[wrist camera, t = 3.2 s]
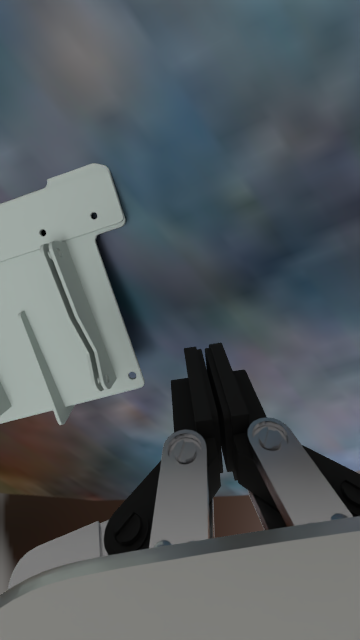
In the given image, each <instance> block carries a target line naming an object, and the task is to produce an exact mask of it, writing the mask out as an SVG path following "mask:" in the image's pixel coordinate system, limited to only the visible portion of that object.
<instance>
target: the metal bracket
mask: <svg viewBox="0 0 360 640" xmlns="http://www.w3.org/2000/svg"><path fill="white" fill-rule="evenodd" d="M92 213H96V214H97V218H96V219H92V216H91V215H92ZM124 224H125V216H124V213H123V210H122V207H121V204H120V201H119V198H118V194H117V191H116V188H115V185H114V182H113V179H112V176H111V173H110V170H109V169H108V168H107V167H106V166H104V165H100V164H94V163H93V164H90V165H87V166H84V167H81V168H79V169H76V170H73V171H70V172H67V173H64V174H62V175H59V176H56V177H53V178H50V179H47V186H46V187H45V188H44V189H41V190H38V191H35V192H33V193H30V194H27V195H24V196H21V197H19V198H16V199H13V200H10V201H7V202H4V203H2V204H0V424H1V423H5V422H9V421H13V420H17V419H20V418H24V417H28V416H32V415H36V414H40V413H44V412H48V411H52V410H53V411H54V414H55V416H56V419H57V421H58V423H59V425H62V424H65V422H66V420H67V419H68V417H69V415H70V413H71V411H72V410H73V408H74V406H75V404H79V403H83V402H87V401H91V400H95V399H99V398H102V397H106V396H110V395H114V394H118V393H122V392H126V391H130V390H134V389H138V388H141V387H143V385H144V378H143V375H142V372H141V369H140V366H139V363H138V361H137V358H136V355H135V352H134V349H133V346H132V343H131V341H130V338H129V335H128V332H127V329H126V326H125V324H124V321H123V318H122V315H121V312H120V309H119V306H118V304H117V301H116V298H115V295H114V292H113V289H112V286H111V284H110V281H109V278H108V275H107V272H106V269H105V266H104V264H103V261H102V258H101V255H100V252H99V249H98V246H97V244H96V237H97V236H98V235H99V234H101V233H104V232H107V231H111V230H114V229H117V228H120V227H122V226H124ZM42 230H45V231H46V236H42V234H41V231H42ZM130 372H135V373H136V376H137V377H136V378H130V377H129V373H130Z"/></svg>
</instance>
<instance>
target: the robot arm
mask: <svg viewBox="0 0 360 640" xmlns="http://www.w3.org/2000/svg"><path fill="white" fill-rule="evenodd" d="M184 353H185V359H186V366H187V373H188V378H184V379H178V380H171V391H172V405H173V420H174V433H173V434H172V435H171V436H169V437H168V439H167V440H166V441H165V443H164V447H163V451H162V459H161V461H160V462H159V463H158V465H157V466H156V467H155V468H154V469H153V470H152V471H151V472H150V473H149V475H148V476H147V477H146V478H145V479H144V480H143V481H142V482H141V484H140V485H139V486H138V487H137V488H136V489H135V490H134V491H133V492H132V494H131V495H130V496H129V497H128V498H127V499H126V500H125V501H124V502H123V504H122V505H121V506H120V507H119V508H118V509H117V510H116V511H115V512H114V514H113V515H112V517H111V518H110V519H109V520H108V521H105V522H103V523H101V524H99V522H98V521H97V522H95V523H92V524H90V525H88V526H86V527H83V528H81V529H79V530H76V531H73V532H71V533H68V534H66V535H64V536H61V537H59V538H56V539H54V540H52V541H49V542H47V543H44V544H42V545H40V546H37V547H35V548H34V549H32V550H31V551H29V552H27V554H26V555H25V556H24V557H23V558H22V559H21V560H20V561H19V562H18V564H17V566H16V568H15V569H14V571H13V573H12V576H11V579H10V582H9V586H8V590H7V591H6V592H4V593H3V594H1V595H0V640H360V474H358V473H356V472H354V471H353V470H351V469H349V468H347V467H345V466H343V465H341V464H339V463H337V462H335V461H333V460H331V459H329V458H327V457H325V456H323V455H321V454H319V453H317V452H315V451H313V450H311V449H309V448H307V447H305V446H303V445H301V444H300V442H299V441H298V440H297V438H296V437H295V435H294V434H293V433H292V431H291V430H290V429H289V428H288V427H287V425H286V424H284V423H283V422H281V421H279V420H277V419H274V418H267V417H266V415H265V413H264V410H263V408H262V406H261V404H260V402H259V399H258V397H257V395H256V393H255V391H254V388H253V386H252V384H251V382H250V379H249V377H248V375H247V373H246V371H245V370H238V371H232V368H231V366H230V363H229V361H228V358H227V356H226V353H225V350H224V348H223V345H222V343H216V344H210V345H209V348H205V357H206V366H205V362H204V358H203V354H202V350H201V349H198V350H197V349H196V347H190V348H184ZM206 367H207V370H206ZM221 448H222V452H223V456H224V460H225V464H226V469H227V472H231V471H233V475H234V479H235V480H238V483H239V484H240V485H242V486H243V487H245V488H246V489H248V492H249V496H250V498H251V500H252V503H253V505H254V507H255V509H256V512H257V514H258V516H259V519H260V521H261V523H262V525H263V528H264V531H257V532H251V533H245V534H238V535H231V536H225V537H218V538H214V513H213V497H214V496H215V494H216V493H217V491H218V490H219V488H220V487H221V482H220V473H223V464H222V452H221Z"/></svg>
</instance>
